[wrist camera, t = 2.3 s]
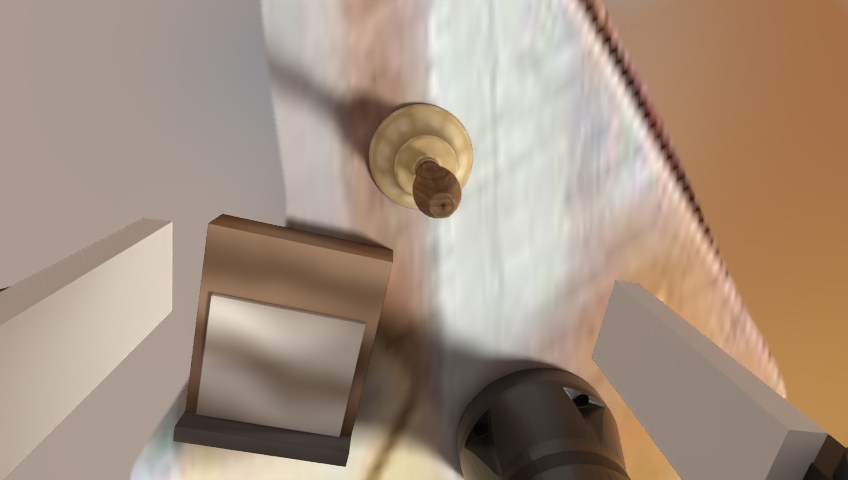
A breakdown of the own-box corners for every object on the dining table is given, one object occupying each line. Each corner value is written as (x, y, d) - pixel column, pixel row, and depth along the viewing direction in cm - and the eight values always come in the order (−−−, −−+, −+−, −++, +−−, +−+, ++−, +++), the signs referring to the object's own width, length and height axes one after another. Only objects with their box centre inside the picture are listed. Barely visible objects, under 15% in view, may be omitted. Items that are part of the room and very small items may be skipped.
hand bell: (493, 164, 38) (561, 210, 22) (414, 228, 39) (428, 313, 23) (428, 80, 35) (455, 67, 20) (347, 151, 37) (314, 190, 21)
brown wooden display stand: (222, 213, 37) (197, 230, 32) (392, 250, 39) (393, 271, 34) (198, 402, 42) (173, 440, 37) (350, 426, 44) (345, 466, 39)
